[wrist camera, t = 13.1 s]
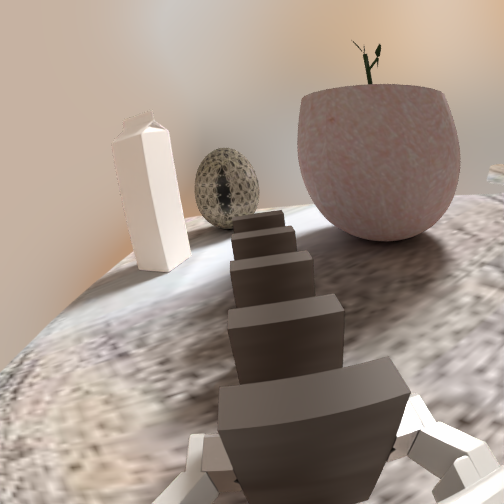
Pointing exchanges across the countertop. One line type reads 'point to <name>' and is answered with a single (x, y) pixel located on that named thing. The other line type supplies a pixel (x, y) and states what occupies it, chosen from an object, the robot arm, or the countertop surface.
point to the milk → (150, 194)
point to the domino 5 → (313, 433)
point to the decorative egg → (226, 187)
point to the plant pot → (379, 157)
